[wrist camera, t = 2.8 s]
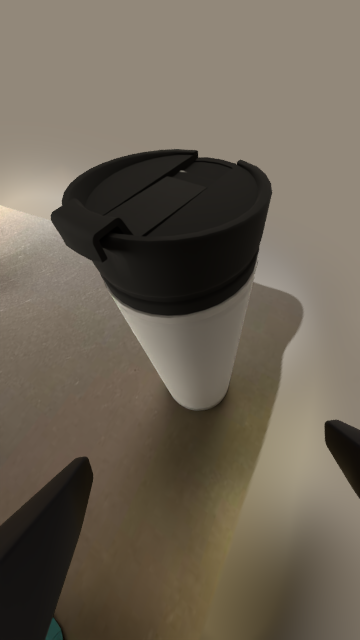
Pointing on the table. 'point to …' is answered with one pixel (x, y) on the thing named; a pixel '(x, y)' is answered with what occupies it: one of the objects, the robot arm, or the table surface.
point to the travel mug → (174, 257)
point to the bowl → (54, 631)
